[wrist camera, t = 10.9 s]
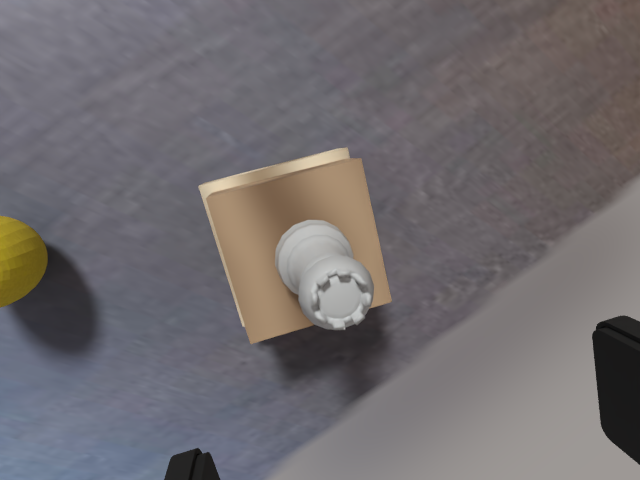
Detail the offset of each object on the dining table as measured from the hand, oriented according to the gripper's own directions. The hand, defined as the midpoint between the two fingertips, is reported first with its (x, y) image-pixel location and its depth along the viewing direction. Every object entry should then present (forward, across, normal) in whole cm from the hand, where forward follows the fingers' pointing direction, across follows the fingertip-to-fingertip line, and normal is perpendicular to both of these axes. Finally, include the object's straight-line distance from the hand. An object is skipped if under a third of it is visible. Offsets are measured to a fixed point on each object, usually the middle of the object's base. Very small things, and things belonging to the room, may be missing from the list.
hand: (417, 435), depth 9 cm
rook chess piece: (+16, 0, -1) cm, 16 cm away
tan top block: (+19, +1, -1) cm, 19 cm away
